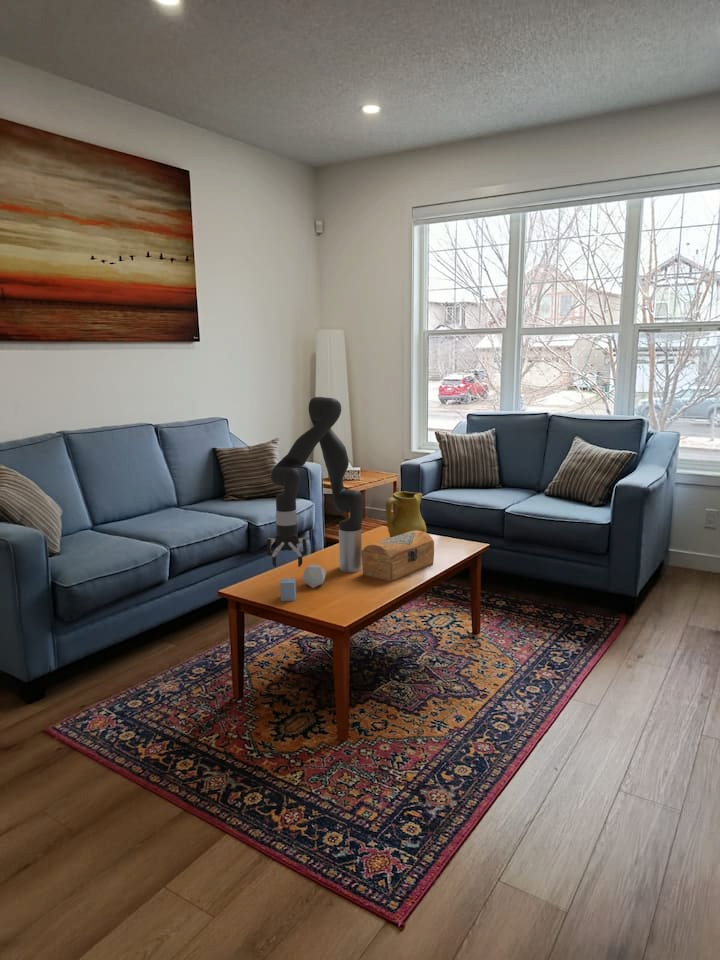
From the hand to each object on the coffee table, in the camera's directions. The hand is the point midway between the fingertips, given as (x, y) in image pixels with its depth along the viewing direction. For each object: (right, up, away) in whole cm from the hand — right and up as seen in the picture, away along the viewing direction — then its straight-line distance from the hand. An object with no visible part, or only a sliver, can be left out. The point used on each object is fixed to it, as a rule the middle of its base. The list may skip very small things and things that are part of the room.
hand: (287, 566), depth 242 cm
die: (+8, -6, +10) cm, 14 cm away
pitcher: (+47, 0, +68) cm, 83 cm away
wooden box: (+42, -6, +35) cm, 55 cm away
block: (0, -12, +2) cm, 12 cm away
